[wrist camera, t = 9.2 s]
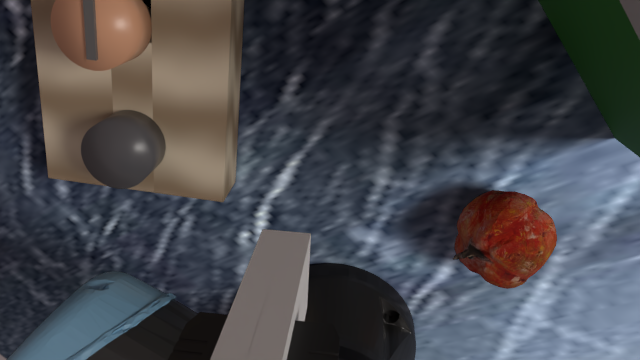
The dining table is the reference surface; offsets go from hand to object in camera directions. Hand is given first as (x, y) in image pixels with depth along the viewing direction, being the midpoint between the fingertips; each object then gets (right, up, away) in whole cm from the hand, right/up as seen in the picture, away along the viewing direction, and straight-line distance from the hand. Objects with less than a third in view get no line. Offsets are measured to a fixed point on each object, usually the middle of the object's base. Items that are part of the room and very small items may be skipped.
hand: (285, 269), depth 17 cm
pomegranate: (+16, 0, +28) cm, 32 cm away
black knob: (-13, +7, +27) cm, 31 cm away
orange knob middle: (-12, +14, +21) cm, 28 cm away
